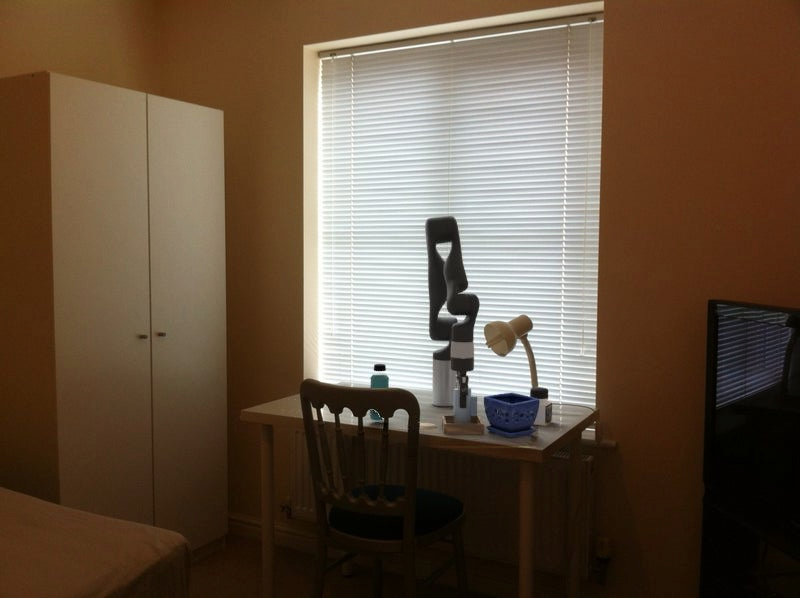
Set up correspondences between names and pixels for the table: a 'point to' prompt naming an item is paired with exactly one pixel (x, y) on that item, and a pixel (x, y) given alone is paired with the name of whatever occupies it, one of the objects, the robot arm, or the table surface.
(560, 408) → the table surface
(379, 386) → the beverage bottle
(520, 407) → the flower pot
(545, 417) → the medicine bottle
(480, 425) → the tray
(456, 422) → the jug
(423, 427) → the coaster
